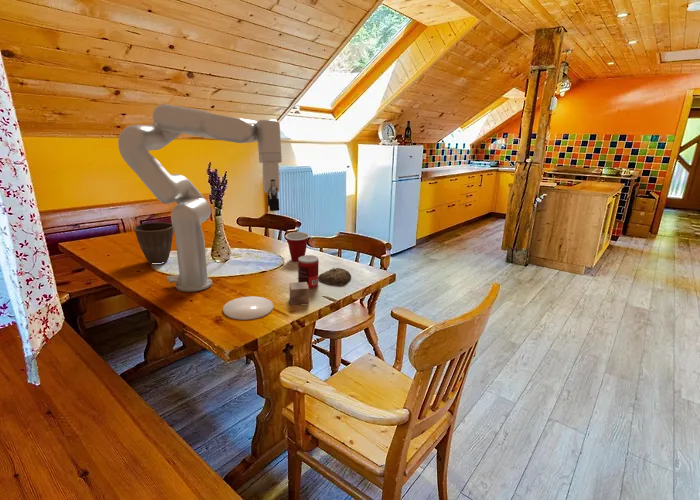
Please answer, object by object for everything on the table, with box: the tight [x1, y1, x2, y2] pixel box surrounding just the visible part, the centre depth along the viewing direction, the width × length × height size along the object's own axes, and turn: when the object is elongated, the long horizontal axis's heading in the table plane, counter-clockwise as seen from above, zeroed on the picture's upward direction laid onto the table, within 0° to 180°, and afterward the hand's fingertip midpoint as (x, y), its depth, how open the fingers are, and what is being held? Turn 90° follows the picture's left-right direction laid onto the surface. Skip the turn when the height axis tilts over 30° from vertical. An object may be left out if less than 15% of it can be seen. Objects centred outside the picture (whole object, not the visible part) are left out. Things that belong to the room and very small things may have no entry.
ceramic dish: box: [222, 295, 274, 321], centre depth 126 cm, size 16×16×1 cm
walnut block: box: [289, 282, 310, 306], centre depth 132 cm, size 6×6×6 cm
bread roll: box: [318, 267, 352, 286], centre depth 154 cm, size 13×12×5 cm
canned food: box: [297, 254, 320, 290], centre depth 145 cm, size 8×8×11 cm
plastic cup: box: [285, 231, 310, 263], centre depth 174 cm, size 11×11×12 cm
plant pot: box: [133, 222, 174, 265], centre depth 164 cm, size 15×15×16 cm
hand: (273, 208), depth 134 cm, fingers open, 9 cm apart
